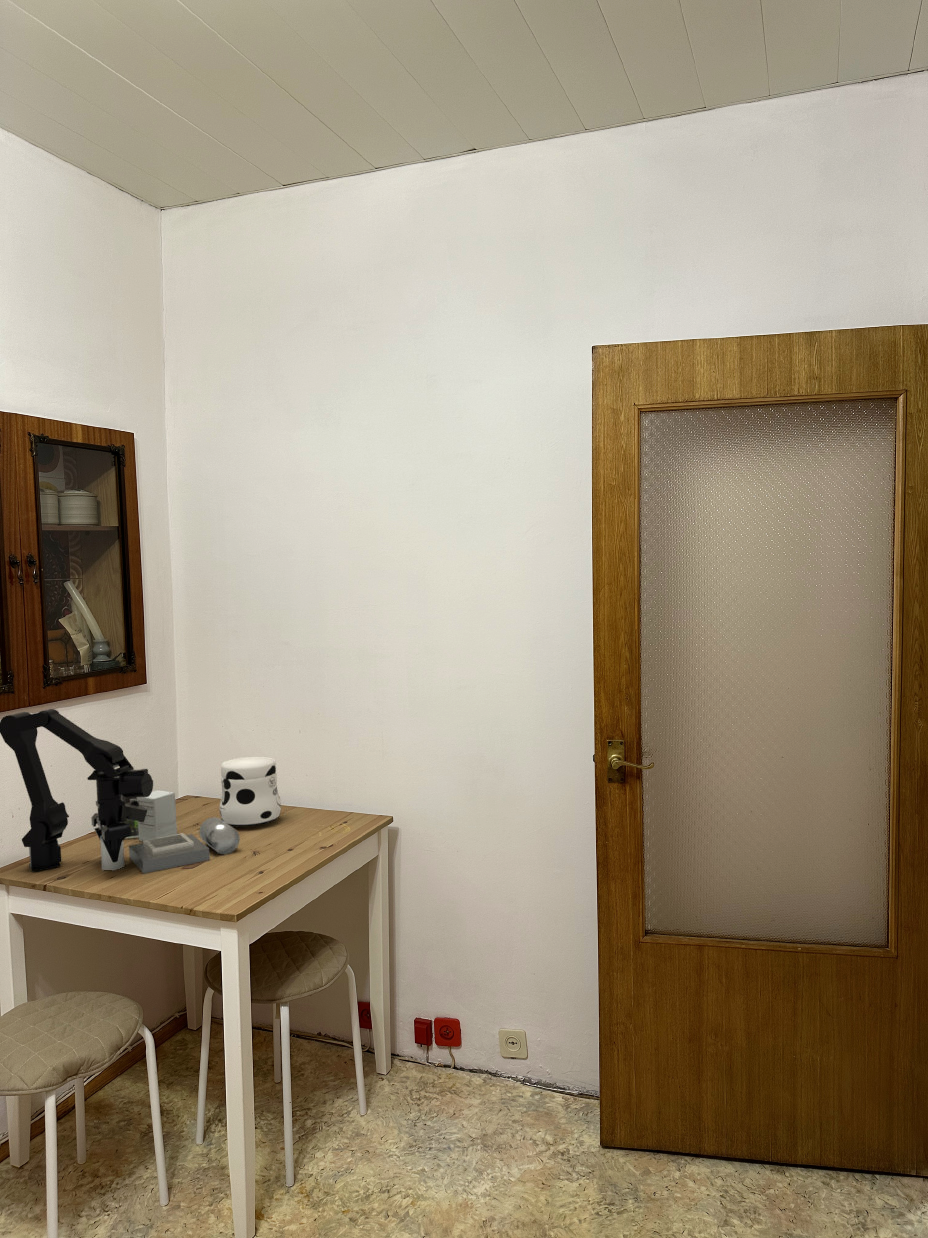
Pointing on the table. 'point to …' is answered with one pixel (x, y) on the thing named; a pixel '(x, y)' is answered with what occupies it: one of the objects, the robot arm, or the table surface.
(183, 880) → the table surface
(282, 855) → the table surface
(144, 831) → the supplement box
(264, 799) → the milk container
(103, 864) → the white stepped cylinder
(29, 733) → the robot arm
